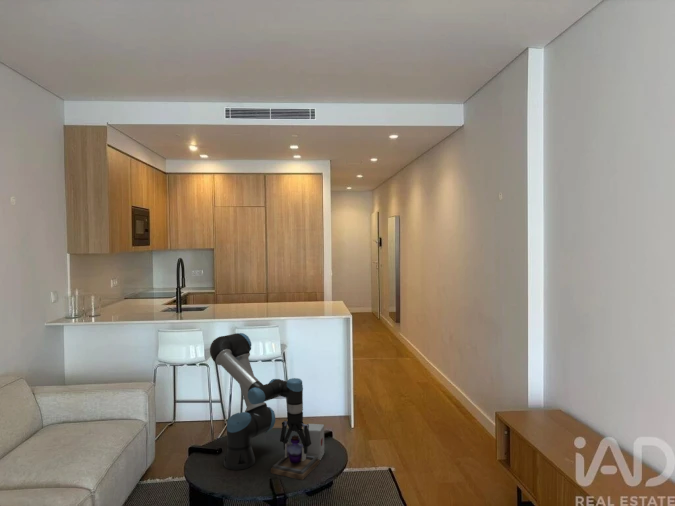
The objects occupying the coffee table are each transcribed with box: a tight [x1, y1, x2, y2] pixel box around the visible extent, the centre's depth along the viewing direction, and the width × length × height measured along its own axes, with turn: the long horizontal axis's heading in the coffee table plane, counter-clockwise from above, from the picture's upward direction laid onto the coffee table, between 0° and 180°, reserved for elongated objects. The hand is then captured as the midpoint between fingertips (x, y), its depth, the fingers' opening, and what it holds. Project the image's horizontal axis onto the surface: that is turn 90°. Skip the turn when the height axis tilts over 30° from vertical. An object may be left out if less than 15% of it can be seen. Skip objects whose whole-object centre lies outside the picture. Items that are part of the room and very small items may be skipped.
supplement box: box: [304, 423, 325, 461], centre depth 237 cm, size 9×9×15 cm
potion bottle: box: [287, 435, 303, 464], centre depth 224 cm, size 9×9×12 cm
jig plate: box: [270, 455, 321, 481], centre depth 224 cm, size 17×18×3 cm
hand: (295, 458), depth 224 cm, fingers closed on potion bottle, 9 cm apart
